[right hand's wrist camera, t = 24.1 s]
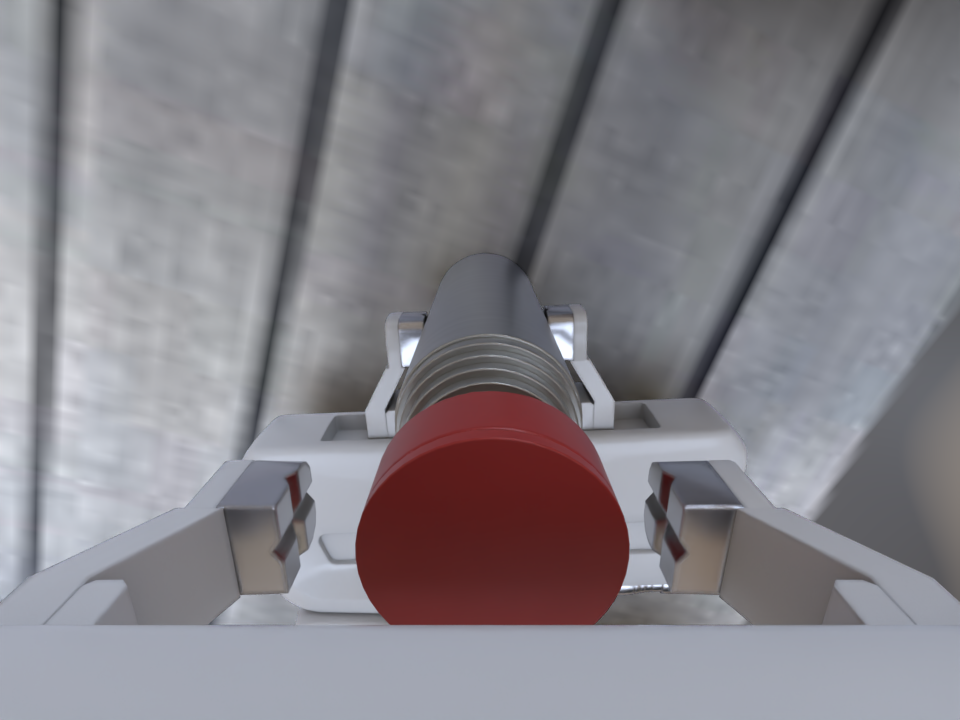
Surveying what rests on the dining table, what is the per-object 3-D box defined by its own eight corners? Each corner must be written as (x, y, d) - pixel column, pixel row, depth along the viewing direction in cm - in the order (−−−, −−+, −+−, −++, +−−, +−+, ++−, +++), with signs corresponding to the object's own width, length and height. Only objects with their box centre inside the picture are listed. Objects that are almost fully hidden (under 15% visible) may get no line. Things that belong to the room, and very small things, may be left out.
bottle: (469, 233, 24) (443, 359, 8) (552, 286, 25) (685, 498, 9) (419, 316, 25) (309, 569, 9) (500, 364, 26) (529, 674, 10)
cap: (633, 545, 11) (662, 618, 9) (433, 610, 11) (424, 691, 9) (559, 353, 9) (578, 396, 7) (335, 439, 10) (304, 496, 8)
